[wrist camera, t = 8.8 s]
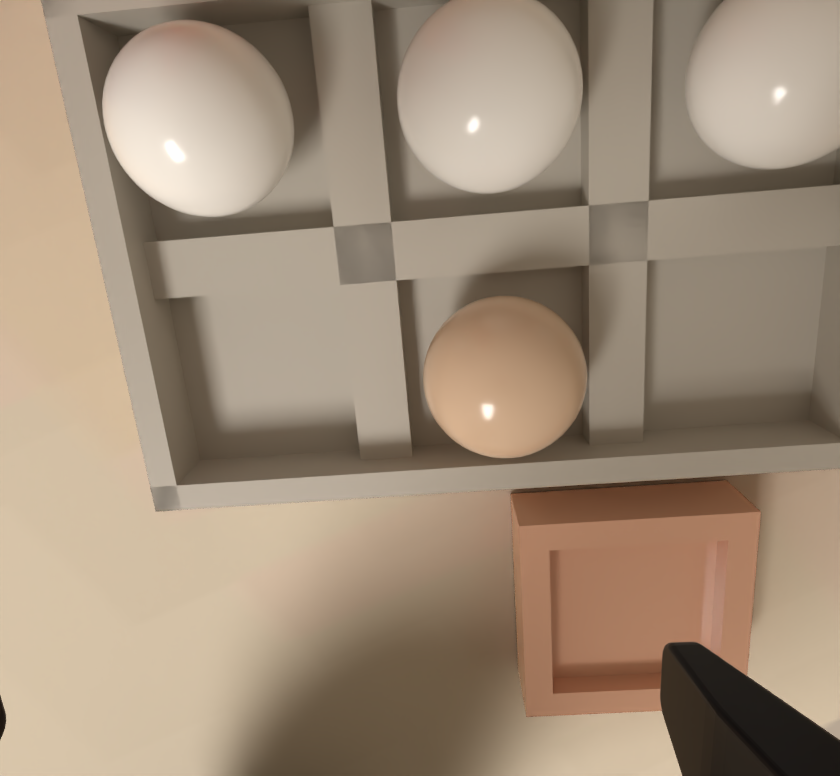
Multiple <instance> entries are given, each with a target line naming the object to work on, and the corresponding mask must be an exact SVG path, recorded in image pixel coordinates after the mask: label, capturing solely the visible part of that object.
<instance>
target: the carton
mask: <svg viewBox="0 0 840 776" xmlns="http://www.w3.org/2000/svg"><path fill="white" fill-rule="evenodd" d="M449 1H450V0H41V3H42V7H43V12H44V16H45V20H46V25H47V29H48V34H49V38H50V43H51V47H52V52H53V56H54V60H55V65H56V69H57V74H58V78H59V83H60V87H61V92H62V96H63V101H64V105H65V109H66V114H67V118H68V123H69V127H70V132H71V136H72V141H73V145H74V150H75V154H76V158H77V163H78V167H79V172H80V176H81V181H82V185H83V190H84V194H85V199H86V203H87V207H88V212H89V216H90V221H91V225H92V230H93V234H94V239H95V243H96V248H97V252H98V256H99V261H100V265H101V270H102V274H103V279H104V283H105V288H106V292H107V297H108V301H109V305H110V310H111V314H112V319H113V323H114V328H115V332H116V337H117V341H118V345H119V350H120V354H121V359H122V363H123V368H124V372H125V377H126V381H127V386H128V390H129V394H130V399H131V403H132V408H133V412H134V417H135V421H136V426H137V430H138V435H139V439H140V443H141V448H142V452H143V457H144V461H145V466H146V470H147V475H148V479H149V484H150V488H151V492H152V497H153V501H154V506H155V510H156V511H172V510H188V509H204V508H220V507H236V506H251V505H267V504H283V503H299V502H315V501H331V500H347V499H363V498H379V497H395V496H411V495H427V494H443V493H459V492H475V491H491V490H507V489H523V488H539V487H555V486H571V485H587V484H603V483H619V482H635V481H651V480H667V479H683V478H699V477H715V476H731V475H747V474H763V473H779V472H795V471H811V470H827V469H840V148H838V149H836V150H834V151H833V152H831V153H829V154H827V155H825V156H823V157H821V158H819V159H816V160H814V161H812V162H809V163H806V164H802V165H799V166H795V167H790V168H784V169H754V168H748V167H744V166H740V165H737V164H734V163H732V162H730V161H727V160H725V159H723V158H722V157H720V156H719V155H717V154H716V153H714V152H713V151H712V150H711V149H710V148H709V147H708V146H707V145H706V144H705V143H704V142H703V141H702V140H701V138H700V137H699V136H698V134H697V132H696V131H695V129H694V127H693V125H692V123H691V121H690V118H689V115H688V111H687V108H686V101H685V76H686V70H687V66H688V61H689V57H690V54H691V51H692V48H693V46H694V44H695V41H696V39H697V37H698V35H699V33H700V32H701V30H702V28H703V27H704V25H705V23H706V22H707V20H708V19H709V17H710V16H711V15H712V13H713V12H714V11H715V10H716V8H717V7H718V6H719V5H720V4H721V3H722V2H723V1H724V0H537V1H539V2H540V3H542V4H543V5H545V6H546V7H547V8H548V9H550V10H551V11H552V12H553V13H554V14H555V15H556V16H557V17H558V18H559V20H560V21H561V22H562V23H563V24H564V26H565V27H566V29H567V31H568V32H569V34H570V35H571V38H572V40H573V42H574V44H575V46H576V49H577V52H578V55H579V58H580V63H581V68H582V77H583V95H582V103H581V108H580V114H579V117H578V121H577V124H576V127H575V129H574V131H573V134H572V136H571V138H570V140H569V142H568V143H567V145H566V147H565V149H564V150H563V151H562V153H561V154H560V155H559V157H558V158H557V159H556V160H555V161H554V162H553V163H552V164H551V165H550V166H549V167H548V168H547V169H546V170H545V171H544V172H543V173H541V174H540V175H539V176H538V177H536V178H535V179H533V180H531V181H530V182H528V183H526V184H524V185H522V186H520V187H518V188H515V189H512V190H509V191H505V192H500V193H493V194H479V193H471V192H467V191H463V190H459V189H456V188H454V187H452V186H449V185H447V184H446V183H444V182H442V181H440V180H439V179H437V178H436V177H435V176H434V175H432V174H431V173H430V172H429V171H428V170H427V169H426V168H425V167H424V166H423V165H422V164H421V163H420V162H419V161H418V159H417V158H416V156H415V155H414V154H413V152H412V150H411V149H410V147H409V145H408V143H407V141H406V138H405V136H404V134H403V131H402V127H401V124H400V120H399V114H398V107H397V87H398V77H399V73H400V68H401V64H402V61H403V58H404V55H405V53H406V50H407V48H408V46H409V44H410V42H411V40H412V39H413V37H414V36H415V34H416V33H417V31H418V29H419V28H420V27H421V26H422V25H423V23H424V22H425V21H426V20H427V19H428V18H429V17H430V16H431V15H432V14H433V13H434V12H435V11H436V10H437V9H439V8H440V7H441V6H443V5H444V4H446V3H447V2H449ZM174 20H196V21H203V22H208V23H211V24H215V25H219V26H221V27H223V28H226V29H228V30H230V31H232V32H234V33H235V34H237V35H239V36H240V37H242V38H244V39H245V40H246V41H248V42H249V43H250V44H252V45H253V46H254V47H255V48H256V49H257V50H258V51H259V52H260V53H261V54H262V55H263V56H264V57H265V58H266V59H267V60H268V62H269V63H270V64H271V66H272V67H273V68H274V70H275V71H276V73H277V74H278V76H279V78H280V79H281V81H282V83H283V85H284V87H285V90H286V92H287V94H288V98H289V101H290V104H291V108H292V113H293V119H294V145H293V150H292V155H291V158H290V162H289V165H288V167H287V169H286V171H285V174H284V176H283V177H282V179H281V180H280V182H279V183H278V185H277V186H276V187H275V188H274V189H273V191H272V192H271V193H270V194H269V195H268V196H267V197H265V198H264V199H263V200H262V201H261V202H259V203H258V204H256V205H255V206H253V207H251V208H249V209H247V210H245V211H242V212H239V213H236V214H232V215H227V216H221V217H203V216H195V215H190V214H186V213H182V212H179V211H177V210H174V209H172V208H169V207H167V206H166V205H164V204H162V203H160V202H158V201H157V200H155V199H153V198H152V197H151V196H149V195H148V194H147V193H145V192H144V191H143V190H142V189H141V188H140V187H139V186H138V185H136V183H135V182H134V181H133V180H132V179H131V178H130V177H129V175H128V174H127V173H126V172H125V171H124V169H123V168H122V166H121V165H120V163H119V162H118V160H117V158H116V156H115V154H114V152H113V150H112V148H111V145H110V143H109V140H108V137H107V133H106V130H105V126H104V119H103V110H102V99H103V89H104V85H105V80H106V77H107V74H108V71H109V69H110V67H111V65H112V63H113V61H114V59H115V57H116V56H117V55H118V53H119V52H120V51H121V49H122V48H123V47H124V46H125V45H126V44H127V43H128V42H129V41H130V40H131V39H132V38H133V37H134V36H136V35H137V34H138V33H140V32H141V31H143V30H145V29H147V28H149V27H151V26H154V25H157V24H160V23H163V22H168V21H174ZM494 296H517V297H522V298H526V299H530V300H533V301H535V302H538V303H540V304H543V305H544V306H546V307H548V308H550V309H551V310H553V311H554V312H555V313H556V314H558V315H559V316H560V317H561V318H562V319H563V320H564V321H565V322H566V323H567V324H568V325H569V327H570V328H571V329H572V331H573V332H574V333H575V335H576V337H577V339H578V340H579V342H580V345H581V347H582V350H583V353H584V357H585V361H586V366H587V387H586V392H585V397H584V400H583V403H582V406H581V409H580V411H579V413H578V415H577V417H576V419H575V420H574V422H573V423H572V425H571V426H570V427H569V428H568V430H567V431H566V432H565V433H564V434H563V435H562V436H561V437H560V438H559V439H557V440H556V441H555V442H553V443H552V444H551V445H549V446H547V447H546V448H544V449H542V450H540V451H538V452H535V453H533V454H530V455H526V456H522V457H516V458H494V457H488V456H484V455H480V454H478V453H475V452H472V451H470V450H468V449H466V448H464V447H462V446H461V445H459V444H458V443H456V442H455V441H454V440H452V439H451V438H450V437H449V436H448V435H447V434H446V433H445V432H444V431H443V429H442V428H441V427H440V426H439V425H438V423H437V422H436V420H435V419H434V417H433V415H432V413H431V411H430V409H429V407H428V403H427V400H426V397H425V393H424V386H423V369H424V362H425V358H426V354H427V351H428V348H429V346H430V343H431V341H432V339H433V337H434V336H435V334H436V332H437V331H438V330H439V328H440V327H441V326H442V324H443V323H444V322H445V321H446V320H447V319H448V318H449V317H450V316H451V315H453V314H454V313H455V312H457V311H458V310H459V309H461V308H463V307H464V306H466V305H468V304H470V303H473V302H475V301H477V300H480V299H484V298H487V297H494Z"/></svg>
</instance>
